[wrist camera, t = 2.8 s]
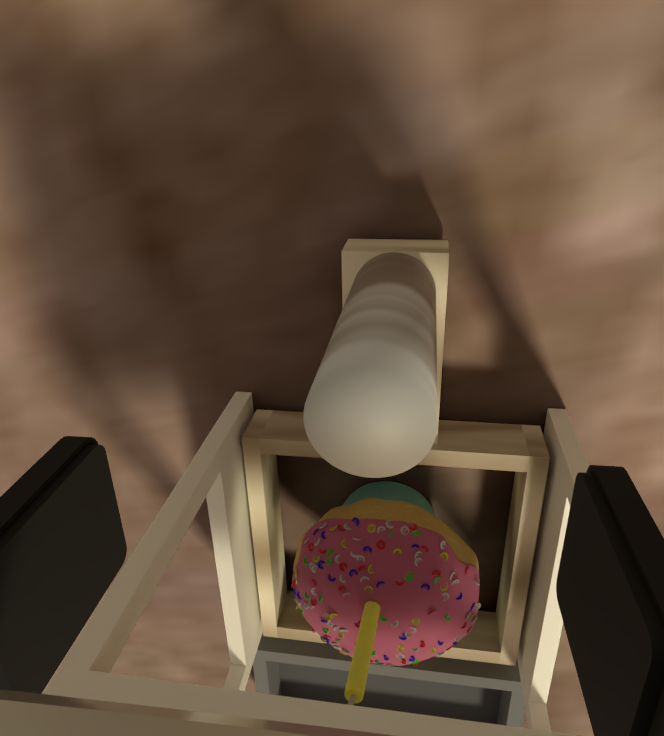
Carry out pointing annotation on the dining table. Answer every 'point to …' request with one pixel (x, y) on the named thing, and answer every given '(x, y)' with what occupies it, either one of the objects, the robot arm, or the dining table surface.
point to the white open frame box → (242, 607)
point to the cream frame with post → (392, 431)
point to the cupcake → (385, 581)
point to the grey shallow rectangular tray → (393, 682)
